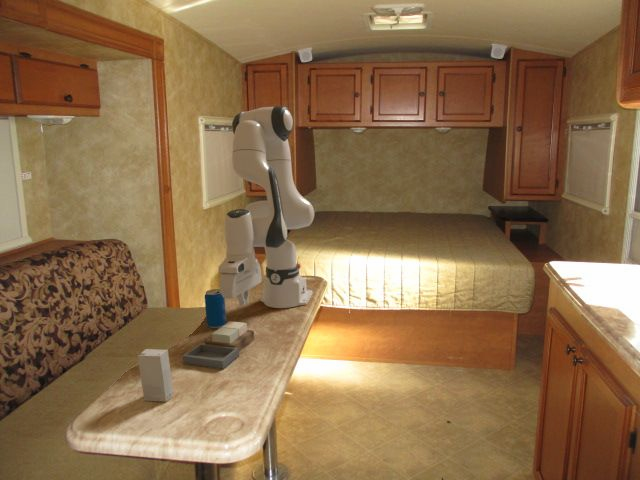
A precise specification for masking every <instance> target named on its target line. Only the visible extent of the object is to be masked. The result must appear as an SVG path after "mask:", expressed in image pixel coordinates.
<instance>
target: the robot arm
mask: <svg viewBox="0 0 640 480" xmlns="http://www.w3.org/2000/svg"><path fill="white" fill-rule="evenodd" d="M231 126H232V127H231V128H232V129H231V130H232V133H233V135H234V136H233V141H232V142H233V143H232V167H233V171H234V172H235V173H236V175H238V177H240V178H241V179H243V180H245V181H247V182H249V183H252V184H255V185H258V186H260V187H262V188H263V189H264V191H265V194H266V199H267V200H258V201H254V202H251V203H248V204H247V205H246V206H245V208H239V209H237V208H236V209H231V210H229V211H228V212H227V213H225V219H224V239H225V243H226V254H225V255H226V257H225V258H224V259H223V261H222V262H221V263H220V265H219V266H218V267H217V268H218V273H220V275H219V286H220V287H219V289H220V290H221V295H222V296H223V298H225V299H234V298H236V297H237V300H238V305H239V306H243V307H244V306H246V305H247V304H249V297H250V294H251V289H252V288H254V287H256V286H258V285H260V284H261V283H262V279H263V277H262V268H261V265H260V262H259V260H258V259H257V257H256V251H255V248H257V247H259V248H264V251H265V258H266V259H265V260H266V266H265V277H266V278H265V279H264V280H263V290H262V291H263V293H262V295H263V296H262V297H260V301H261V302H262V303H263V304H264V305H265V306H266V307H268V308H272V309H273V308H274V309H287V308H288V309H289V308H293V307H298V306H306V305H307V304H308V303H309V301H310V299H311V297H312V296H313V294H314V292H313V290H311V289H307V287H308V286H307V280H306V278H304V277H303V276H302V275H300V271H299V270H300V269H301V267H302V266H301V265H302V264H301V263H299V262H297V252H296V251H297V250H296V249H297V247H296V245H295V244H294V242H293V241H291V240H289V239H287V238H288V230H298V229H303V228H307V227H310V226H311V225H312V223H313V221H314V218H315V209H314V206H313V204H312V203H311V202H310V201H309V200H307V199H306V198H305V197H304V196H303V195H301V193H300V192H299V191H298V189H297V187H296V185H295V183H294V177H293V171H292V170H293V169H292V167H293V166H292V157H291V156H292V155H291V148H290V143H289V136H290V135H291V133H292V131H293V129H294V118H293V114H292V112H291V111H290V109H289V108H288V107H286V106H283V105H276V106H275V105H274V106H264V107H259V108H255V109H251V110H248V111H241V112H239V113H237V114H236V115H235V116H234V118H233V119H232V123H231Z"/></svg>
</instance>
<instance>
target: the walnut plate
mask: <svg viewBox="0 0 640 480" xmlns="http://www.w3.org/2000/svg"><path fill="white" fill-rule="evenodd" d="M254 341H255V330H250V329H247V331H246V332H245V333H244V334H242V335H241V336H240V337H238V338H237V339H236V340H234V341H233V342H232V343H230V344H229V343H221V342H213V341H212V336H211V337H210V338H208V339H207V340H205V341H204V344H209V345H217V346H225V347H233V348H239V353H241V351H243V350H244V349H245V348H246V347H247V346H248V345H250V344H251V343H252V342H254Z"/></svg>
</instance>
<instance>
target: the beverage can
mask: <svg viewBox="0 0 640 480" xmlns="http://www.w3.org/2000/svg"><path fill="white" fill-rule="evenodd" d="M225 299H226V298H223V296H222V295H221V289H220V288H219V289H218V288H213V289H212V288H211V289H209V290H208V289H207V290H206V291H205V294H204V307H205V318H206V327H209V328H210V329H219V328H221V327H222V326H224V325H225V324H226V323H227V313H226V300H225Z"/></svg>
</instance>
